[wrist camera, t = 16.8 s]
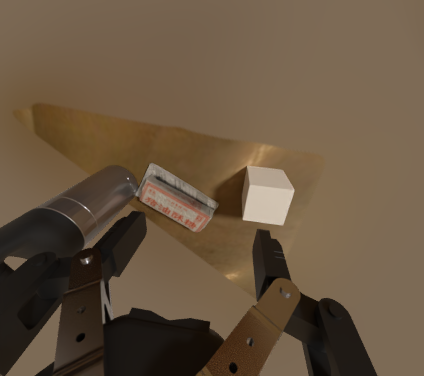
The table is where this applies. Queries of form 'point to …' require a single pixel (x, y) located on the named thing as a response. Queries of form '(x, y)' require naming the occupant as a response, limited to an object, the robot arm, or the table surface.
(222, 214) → the table surface
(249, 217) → the white foam cube
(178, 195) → the packaged product
